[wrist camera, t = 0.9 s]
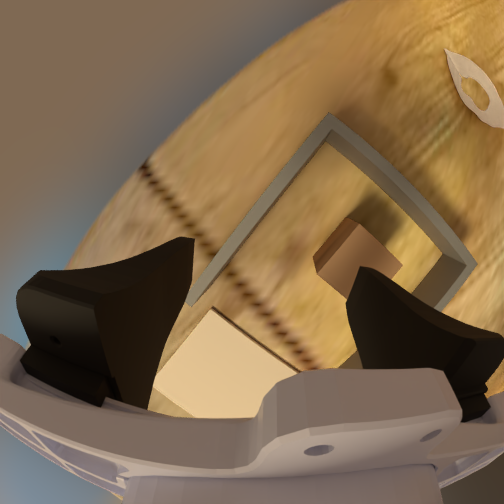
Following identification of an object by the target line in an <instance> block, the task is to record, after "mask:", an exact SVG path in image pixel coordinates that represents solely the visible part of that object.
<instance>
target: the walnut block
mask: <svg viewBox="0 0 504 504" xmlns="http://www.w3.org/2000/svg"><path fill="white" fill-rule="evenodd" d="M313 260H314V264H315V268H316V273H317V275H319V276H320V277H321V278H322V279H323V280H325V281H326V282H327V283H328V284H329V285H331V286H332V287H333V288H334V289H335V290H337V291H338V292H339V293H340V294H341V295H343V296H344V297H345V298H346V299H348V296H349V294H350V291H351V289H352V286H353V283H354V281H355V278H356V275H357V273H358V270H359V267H360V266H364V267H370V268H373V269H375V270H377V271H379V272H381V273H382V274H384V275H385V276H387V277H388V278H390V279H392V278H393V276H394V275H395V274H396V273H397V272H398V270H399V269H400V268H401V267H402V266H403V265H402V264H401V263H400V262H399V261H398V260H397V259H396V258H395V257H394V256H393V255H392V254H391V253H390V252H389V251H388V250H387V249H386V248H385V247H384V246H383V245H382V244H381V243H380V242H379V241H378V240H377V239H376V238H374V237H373V236H372V235H371V234H370V233H369V232H368V231H367V230H366V229H365V228H364V227H363V226H361V225H360V224H359V223H357V222H355V221H353V220H351V219H349V218H347V217H345V219H344V220H343V221H342V222H341V224H340V225H339V226H338V227H337V228H336V230H335V231H334V232H333V233H332V234H331V236H330V237H329V238H328V239H327V240H326V242H325V243H324V244H323V245H322V246H321V248H320V249H319V250H318V251H317V252H316V254H315V255H314V256H313Z"/></svg>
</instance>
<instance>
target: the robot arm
mask: <svg viewBox="0 0 504 504" xmlns="http://www.w3.org/2000/svg"><path fill="white" fill-rule="evenodd" d="M194 242H195V239H193V238H187V237H178V238H175V239H173V240H171V241H168V242H166V243H164V244H162V245H160V246H158V247H156V248H153V249H151V250H149V251H146V252H144V253H141V254H139V255H137V256H134V257H131V258H128V259H125V260H122V261H119V262H115V263H111V264H106V265H101V266H97V267H91V268H84V269H75V270H50V271H49V270H46V271H45V270H40V271H39V272H37V274H35V275H34V276H33V277H32V278H31V279H30V280H28V282H26V283H25V284H24V285H23V286H22V287H21V288H20V289H19V290H18V292H17V296H16V304H17V310H18V313H19V317H20V319H21V322H22V324H23V327H24V329H25V332H26V334H27V336H28V339H29V341H30V343H31V346H30V347H29V348H28V350H27V351H26V350H25V349H24V348H23V347H22V346H21V345H20V344H18V343H16V342H15V341H13V340H11V339H9V338H8V337H6V336H4V335H3V334H0V426H2V427H3V428H4V429H5V430H7V431H8V432H9V433H11V434H12V435H13V436H15V437H17V438H18V439H19V440H20V441H22V442H23V443H25V444H26V445H28V446H29V447H30V448H32V449H33V450H35V451H37V452H38V453H39V454H41V455H43V456H44V457H46V458H47V459H49V460H50V461H52V462H54V463H55V464H57V465H59V466H61V467H62V468H64V469H66V470H68V471H69V472H71V473H73V474H75V475H77V476H79V477H81V478H83V479H85V480H87V481H89V482H91V483H93V484H95V485H97V486H99V487H101V488H104V489H106V490H108V491H110V492H113V493H115V494H118V495H120V496H123V500H122V503H121V504H443V500H442V496H441V493H440V488H442V487H445V486H447V485H449V484H451V483H453V482H455V481H457V480H459V479H461V478H463V477H465V476H467V475H469V474H471V473H473V472H475V471H477V470H479V469H481V468H483V467H484V466H486V465H487V464H489V463H490V462H491V461H493V460H494V459H496V458H497V457H498V456H499V455H501V454H502V453H503V452H504V391H503V392H500V393H497V394H494V395H492V396H490V397H489V398H486V396H485V395H484V393H486V392H487V391H488V388H487V386H486V384H485V383H486V382H487V380H488V379H489V378H490V377H491V375H492V374H493V373H494V372H495V370H496V369H497V368H498V366H499V365H500V363H501V362H502V360H503V358H504V338H503V337H502V336H501V335H500V334H498V333H494V332H491V331H487V330H483V329H480V328H477V327H474V326H471V325H468V324H465V323H463V322H461V321H458V320H456V319H454V318H452V317H450V316H447V315H445V314H443V313H441V312H439V311H438V310H436V309H434V308H432V307H431V306H429V305H427V304H426V303H424V302H422V301H421V300H419V299H418V298H416V297H415V296H413V295H412V294H411V293H409V292H408V291H406V290H405V289H403V288H402V287H401V286H399V285H398V284H397V283H395V282H394V281H392V280H391V279H390V278H388V277H387V276H385V275H384V274H382V273H381V272H379V271H377V270H375V269H373V268H370V267H364V266H360V267H359V270H358V273H357V275H356V278H355V281H354V283H353V286H352V289H351V291H350V294H349V296H348V299H347V302H346V309H347V316H348V321H349V325H350V328H351V331H352V334H353V337H354V340H355V343H356V347H357V350H358V353H359V356H360V359H361V363H362V367H363V369H339V368H327V369H318V370H308V371H302V372H300V373H298V374H295V375H293V376H291V377H288V378H286V379H284V380H281V381H279V382H277V383H276V384H275V385H274V386H273V387H272V388H271V390H270V391H269V392H268V393H267V394H266V395H265V396H264V397H263V400H262V403H261V405H260V408H259V411H258V413H257V414H256V416H255V417H248V418H186V417H172V416H168V415H164V414H160V413H156V412H153V411H149V410H147V409H148V404H149V400H150V395H151V391H152V387H153V383H154V380H155V376H156V372H157V369H158V365H159V362H160V359H161V356H162V352H163V349H164V346H165V343H166V341H167V338H168V336H169V334H170V332H171V330H172V327H173V325H174V323H175V321H176V319H177V317H178V315H179V313H180V311H181V309H182V307H183V305H184V302H185V300H186V298H187V295H188V292H189V289H190V285H191V282H192V272H193V256H194Z"/></svg>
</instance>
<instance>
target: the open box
mask: <svg viewBox="0 0 504 504" xmlns="http://www.w3.org/2000/svg"><path fill="white" fill-rule="evenodd" d="M325 141H326V142H328V143H329V144H330V145H331V146H333V147H334V148H335V149H336V150H338V151H339V152H340V153H341V154H343V155H344V156H345V157H346V158H347V159H349V160H350V161H351V162H352V163H353V164H354V165H356V166H357V167H358V168H359V169H360V170H361V171H363V172H364V173H365V174H366V175H367V176H368V177H369V178H370V179H371V180H373V181H374V182H375V183H376V184H377V185H378V186H379V187H380V188H381V189H382V190H383V191H384V192H385V193H387V194H388V195H389V196H390V197H391V198H392V199H393V200H394V201H395V202H396V203H397V204H398V205H399V206H400V207H401V208H402V209H403V210H404V211H405V212H406V213H407V214H408V215H409V216H410V217H411V218H412V219H413V221H414V222H415V223H416V224H417V225H418V226H419V227H420V228H421V229H422V230H423V231H424V232H425V233H426V235H427V236H428V237H429V238H430V239H431V240H432V241H433V242H434V244H435V245H436V246H437V247H438V248H439V249H440V251H441V252H442V253H443V255H442V256H441V258H440V259H439V260H438V262H437V263H436V264H435V266H434V267H433V268H432V269H431V271H430V272H429V273H428V274H427V276H426V277H425V278H424V279H423V281H422V282H421V283H420V284H419V286H418V287H417V288H416V289H415V290H414V291H413V293H412V295H413V296H415V297H416V298H418V299H419V300H421V301H422V302H424V303H426V304H427V305H429V306H431V307H432V308H434V309H436V310H438V311H439V312H441V311H442V310H443V309H444V308H445V306H446V305H447V304H448V303H449V302H450V300H451V299H452V298H453V297H454V295H455V294H456V293H457V291H458V290H459V289H460V288H461V286H462V285H463V284H464V282H465V281H466V280H467V278H468V277H469V275H470V274H471V273H472V271H473V270H474V268H475V267H476V265H477V262H476V261H475V259H474V258H473V256H472V255H471V254H470V252H469V251H468V250H467V248H466V247H465V246H464V244H463V243H462V242H461V240H460V239H459V238H458V237H457V235H456V234H455V233H454V231H453V230H452V229H451V228H450V227H449V225H448V224H447V223H446V222H445V221H444V219H443V218H442V217H441V216H440V215H439V214H438V212H437V211H436V210H435V209H434V208H433V207H432V206H431V204H430V203H429V202H428V201H427V200H426V199H425V198H424V197H423V196H422V195H421V194H420V192H419V191H418V190H417V189H416V188H415V187H414V186H413V185H412V184H411V183H410V182H409V181H408V180H407V179H406V178H405V177H404V176H403V175H402V174H401V173H400V172H399V171H398V170H397V169H396V168H395V167H394V166H393V165H391V164H390V163H389V162H388V161H387V160H386V159H385V158H384V157H383V156H382V155H381V154H379V153H378V152H377V151H376V150H375V149H374V148H373V147H372V146H370V145H369V144H368V143H367V142H366V141H365V140H363V139H362V138H361V137H360V136H359V135H357V134H356V133H355V132H354V131H353V130H351V129H350V128H349V127H348V126H346V125H345V124H344V123H342V122H341V121H340V120H339V119H337V118H336V117H335V116H333V115H332V114H331V113H328V114H327V115H326V116H325V117H324V119H323V120H322V121H321V122H320V123H319V125H318V126H317V127H316V128H315V130H314V131H313V132H312V133H311V134H310V136H309V137H308V138H307V139H306V141H305V142H304V143H303V144H302V145H301V147H300V148H299V149H298V150H297V152H296V153H295V154H294V155H293V157H292V158H291V159H290V160H289V162H288V163H287V164H286V165H285V167H284V168H283V169H282V170H281V172H280V173H279V174H278V175H277V177H276V178H275V179H274V180H273V182H272V183H271V184H270V185H269V187H268V188H267V189H266V191H265V192H264V193H263V194H262V196H261V197H260V198H259V200H258V201H257V202H256V203H255V205H254V206H253V207H252V208H251V210H250V211H249V212H248V214H247V215H246V216H245V218H244V219H243V220H242V221H241V223H240V224H239V225H238V227H237V228H236V229H235V231H234V232H233V233H232V235H231V236H230V237H229V238H228V240H227V241H226V242H225V244H224V245H223V246H222V248H221V249H220V250H219V252H218V253H217V254H216V256H215V257H214V258H213V260H212V261H211V262H210V264H209V265H208V266H207V268H206V269H205V270H204V272H203V273H202V274H201V276H200V277H199V278H198V280H197V281H196V283H195V284H194V285H193V287H192V288H191V289H190V291H189V292H188V295H187V298H186V300H185V302H186V303H187V304H188V305H189V306H191V307H192V306H193V305H194V304H195V303H196V302H197V301H198V299H199V298H200V297H201V296H202V295H203V294H204V293H205V292H206V291H207V290H208V289H209V287H210V286H211V285H212V284H213V282H214V281H215V280H216V278H217V277H218V276H219V275H220V273H221V272H222V271H223V269H224V268H225V267H226V266H227V264H228V263H229V262H230V260H231V259H232V258H233V257H234V255H235V254H236V253H237V251H238V250H239V249H240V248H241V246H242V245H243V244H244V243H245V241H246V240H247V239H248V237H249V236H250V235H251V234H252V232H253V231H254V230H255V229H256V227H257V226H258V225H259V223H260V222H261V221H262V220H263V218H264V217H265V216H266V215H267V213H268V212H269V211H270V210H271V208H272V207H273V206H274V205H275V203H276V202H277V201H278V200H279V198H280V197H281V196H282V194H283V193H284V192H285V191H286V189H287V188H288V187H289V186H290V184H291V183H292V182H293V181H294V179H295V178H296V177H297V176H298V174H299V173H300V172H301V171H302V169H303V168H304V167H305V166H306V165H307V163H308V162H309V161H310V160H311V158H312V157H313V156H314V155H315V153H316V152H317V151H318V150H319V148H320V147H321V146H322V145H323V143H324V142H325ZM339 369H363V367H362V363H361V359H360V356H359V353H358V350H357V351H356V352H355V353H354V354H353V355H352V356H351V357H350V358H349V359H348V360H347V361H345V362H344V363H343V364H342V365H341V366H340V367H339Z"/></svg>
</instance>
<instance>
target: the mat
mask: <svg viewBox="0 0 504 504" xmlns="http://www.w3.org/2000/svg"><path fill="white" fill-rule="evenodd" d="M298 373H299V372H298V371H296V370H295V369H294V368H292V367H291V366H289V365H288V364H286V363H285V362H283V361H282V360H281V359H279V358H278V357H276V356H275V355H274V354H272V353H271V352H269V351H268V350H267V349H265V348H264V347H263V346H261V345H260V344H258V343H257V342H256V341H254V340H253V339H252V338H250V337H249V336H248V335H246V334H245V333H244V332H242V331H241V330H240V329H238V328H237V327H236V326H234V325H233V324H232V323H231V322H229V321H228V320H227V319H225V318H224V317H223V316H222V315H220V314H219V313H218V312H217V311H215V310H214V309H213V308H211V309H210V310H209V311H208V313H207V314H206V315H205V316H204V318H203V319H202V320H201V321H200V322H199V324H198V325H197V326H196V327H195V329H194V330H193V331H192V332H191V334H190V335H189V336H188V337H187V338H186V340H185V341H184V342H183V343H182V345H181V346H180V347H179V348H178V349H177V351H176V352H175V353H174V354H173V356H172V357H171V358H170V359H169V360H168V362H167V363H166V364H165V365H164V367H163V368H162V369H161V370H160V371H159V373H158V374H157V375H156V376H155V380H154V383H153V387H154V388H155V389H157V390H158V391H159V392H160V393H162V394H163V395H164V396H166V397H167V398H168V399H170V400H171V401H173V402H174V403H175V404H177V405H178V406H180V407H181V408H182V409H184V410H185V411H187V412H188V413H190V414H191V415H193V416H194V417H196V418H248V417H255V416H256V414H257V413H258V411H259V408H260V405H261V403H262V400H263V397H264V396H265V395H266V394H267V393H268V392H269V391H270V390H271V388H272V387H273V386H274V385H275V384H276V383H277V382H279V381H281V380H284V379H286V378H288V377H291V376H293V375H295V374H298Z"/></svg>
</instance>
